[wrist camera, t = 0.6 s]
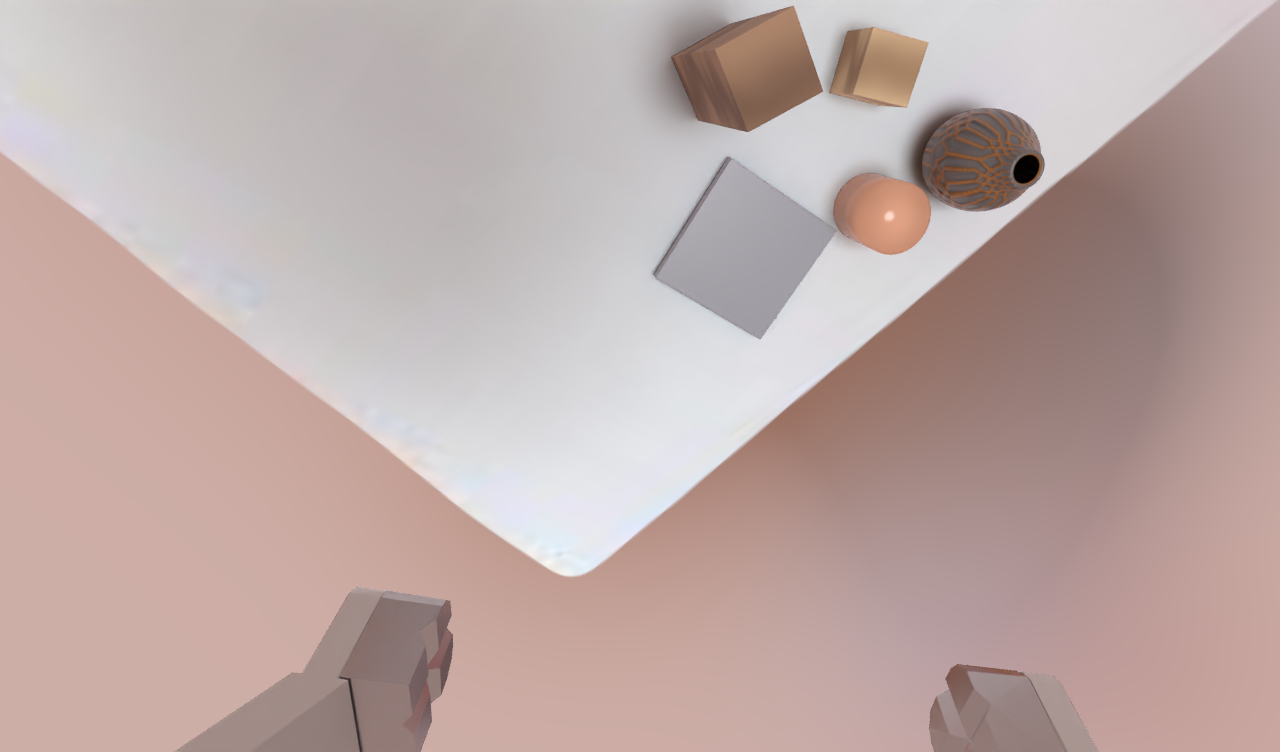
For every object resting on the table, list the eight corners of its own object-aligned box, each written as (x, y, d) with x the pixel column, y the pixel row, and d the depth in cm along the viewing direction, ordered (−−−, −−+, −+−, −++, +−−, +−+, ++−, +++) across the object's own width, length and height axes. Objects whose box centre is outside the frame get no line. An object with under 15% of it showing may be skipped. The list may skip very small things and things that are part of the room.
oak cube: (846, 31, 47) (873, 27, 43) (898, 45, 47) (928, 42, 44) (828, 93, 48) (853, 93, 44) (879, 105, 49) (906, 107, 45)
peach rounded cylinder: (861, 160, 50) (894, 167, 46) (908, 195, 52) (944, 206, 47) (820, 218, 52) (848, 231, 47) (868, 251, 53) (899, 267, 49)
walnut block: (671, 56, 46) (714, 49, 35) (730, 23, 45) (793, 5, 34) (698, 120, 47) (748, 132, 37) (755, 89, 47) (823, 91, 36)
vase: (1009, 156, 52) (1096, 169, 44) (937, 220, 53) (1009, 245, 45) (964, 85, 49) (1047, 86, 41) (890, 155, 50) (957, 169, 42)
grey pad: (727, 157, 49) (731, 158, 48) (831, 228, 52) (836, 230, 51) (653, 274, 51) (655, 278, 50) (756, 335, 55) (760, 339, 54)
